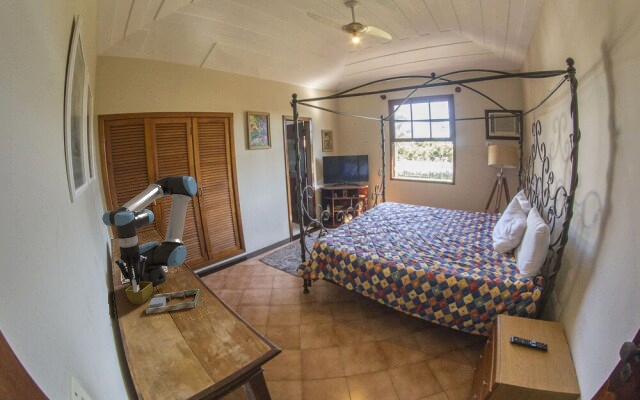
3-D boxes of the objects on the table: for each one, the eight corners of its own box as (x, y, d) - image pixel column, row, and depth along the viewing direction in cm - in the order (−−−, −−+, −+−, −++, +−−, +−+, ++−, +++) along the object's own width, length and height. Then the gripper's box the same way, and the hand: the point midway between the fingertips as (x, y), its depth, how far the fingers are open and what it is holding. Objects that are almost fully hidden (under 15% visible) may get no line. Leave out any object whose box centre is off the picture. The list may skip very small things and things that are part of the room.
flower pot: (155, 297, 151) (152, 281, 149) (143, 306, 143) (141, 290, 141) (139, 296, 152) (137, 281, 150) (127, 306, 144) (124, 290, 142)
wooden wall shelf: (146, 313, 137) (145, 308, 136) (155, 299, 149) (154, 294, 149) (195, 307, 142) (194, 302, 141) (199, 293, 154) (199, 288, 153)
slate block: (150, 312, 139) (148, 305, 138) (153, 305, 144) (151, 298, 143) (163, 310, 140) (162, 302, 139) (166, 303, 146) (165, 296, 145)
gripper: (109, 249, 128) (117, 296, 133) (141, 246, 131) (148, 293, 136) (116, 243, 135) (124, 288, 140) (147, 240, 138) (154, 285, 143)
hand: (136, 290), depth 138 cm, fingers closed
